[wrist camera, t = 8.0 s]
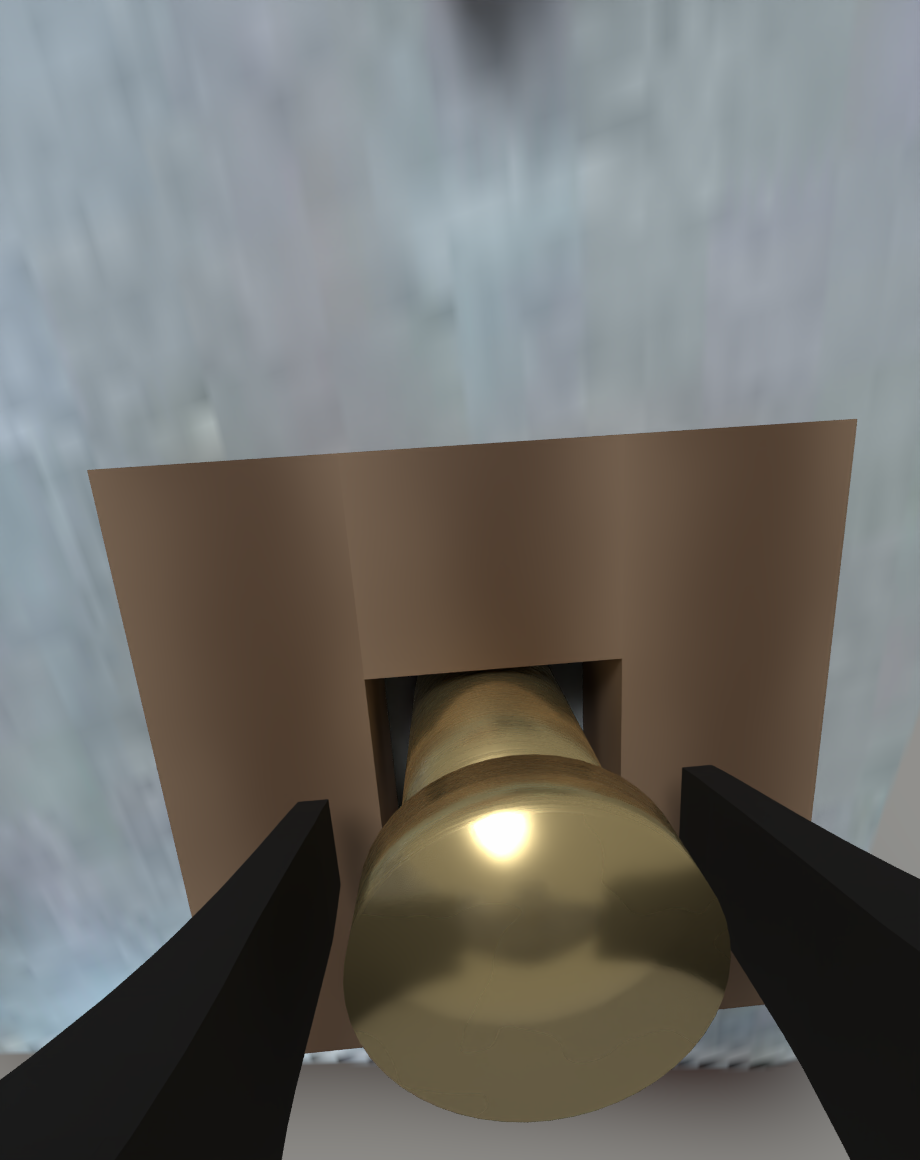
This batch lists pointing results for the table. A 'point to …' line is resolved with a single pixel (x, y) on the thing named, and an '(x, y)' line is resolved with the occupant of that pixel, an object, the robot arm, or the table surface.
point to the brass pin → (526, 915)
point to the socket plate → (473, 621)
